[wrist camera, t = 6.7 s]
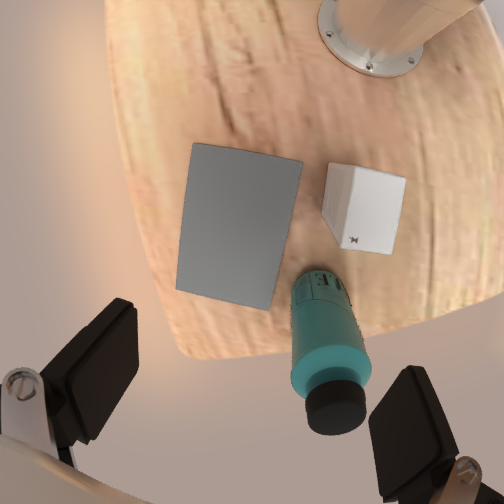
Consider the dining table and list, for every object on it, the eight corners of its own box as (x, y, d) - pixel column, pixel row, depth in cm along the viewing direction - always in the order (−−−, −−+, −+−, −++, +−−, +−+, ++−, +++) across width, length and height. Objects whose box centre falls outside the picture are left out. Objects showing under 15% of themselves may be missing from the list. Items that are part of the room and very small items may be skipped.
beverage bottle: (289, 310, 35) (283, 449, 17) (290, 261, 33) (289, 391, 14) (340, 311, 35) (372, 445, 16) (345, 261, 32) (399, 385, 14)
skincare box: (356, 220, 31) (391, 258, 19) (320, 214, 31) (338, 250, 20) (365, 167, 29) (408, 177, 17) (328, 160, 29) (352, 165, 18)
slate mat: (194, 143, 30) (193, 142, 29) (302, 162, 29) (303, 162, 29) (177, 287, 36) (175, 289, 36) (269, 308, 36) (268, 311, 35)
